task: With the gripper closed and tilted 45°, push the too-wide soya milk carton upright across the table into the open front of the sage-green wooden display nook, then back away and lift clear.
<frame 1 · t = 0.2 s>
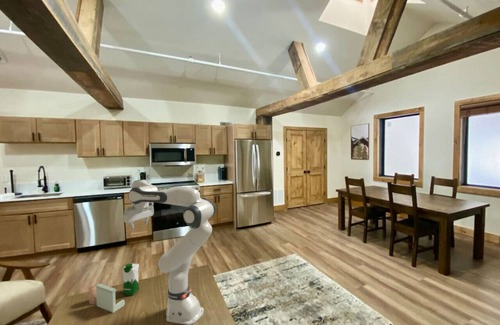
hand: (139, 226, 146), 48 cm above the table, tool pointing down, fingers open, 8 cm apart
terracotta jar: (95, 301, 144), on the table
display nook: (116, 301, 144), on the table
soya milk: (131, 292, 154), on the table
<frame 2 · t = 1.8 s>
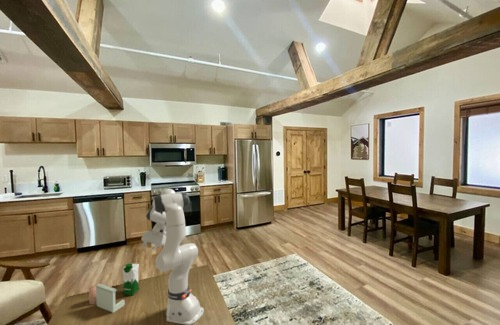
hand: (148, 248, 167), 24 cm above the table, tool tilted 45°, fingers open, 8 cm apart
nothing on the table moved.
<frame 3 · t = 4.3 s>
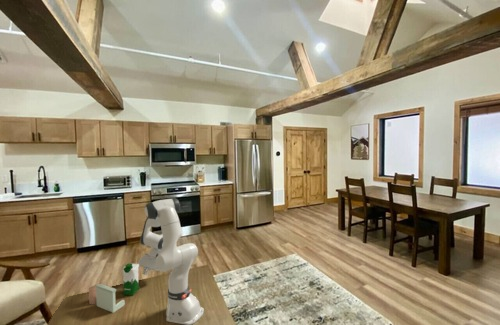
hand: (144, 274, 164), 7 cm above the table, tool tilted 45°, fingers closed
nothing on the table moved.
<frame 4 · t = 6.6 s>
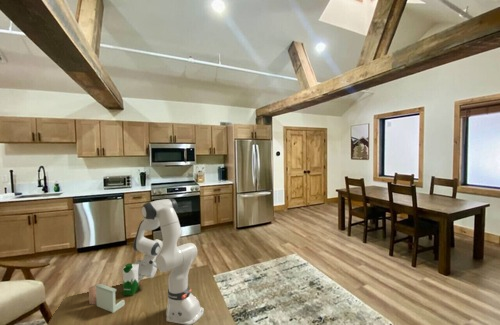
hand: (136, 281, 158), 5 cm above the table, tool tilted 45°, fingers closed
soya milk: (131, 292, 154), on the table, touching gripper
everything else where it was.
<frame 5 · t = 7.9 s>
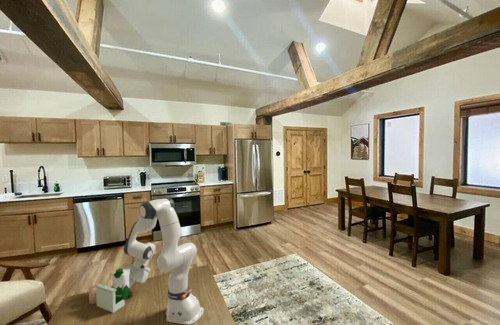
hand: (127, 287, 151), 5 cm above the table, tool tilted 45°, fingers closed
soya milk: (121, 298, 147), on the table, touching gripper
everything else where it was.
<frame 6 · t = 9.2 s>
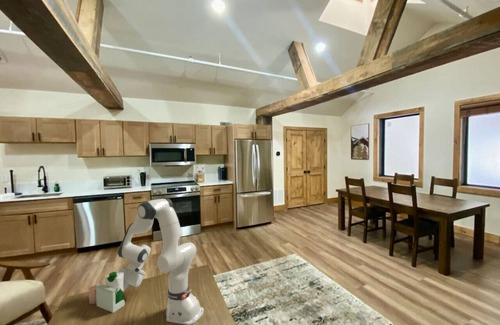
hand: (121, 290, 147), 5 cm above the table, tool tilted 45°, fingers closed
soya milk: (115, 302, 143), on the table, touching display nook, gripper
everything else where it was.
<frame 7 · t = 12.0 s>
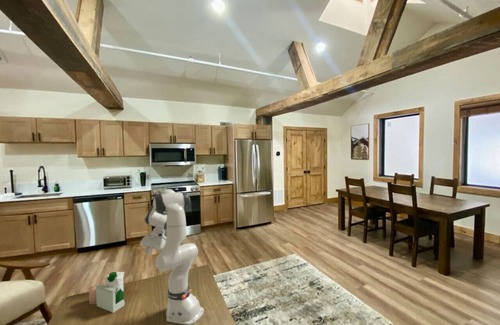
hand: (146, 253, 163), 22 cm above the table, tool tilted 45°, fingers closed
soya milk: (115, 302, 143), on the table, touching display nook
everything else where it was.
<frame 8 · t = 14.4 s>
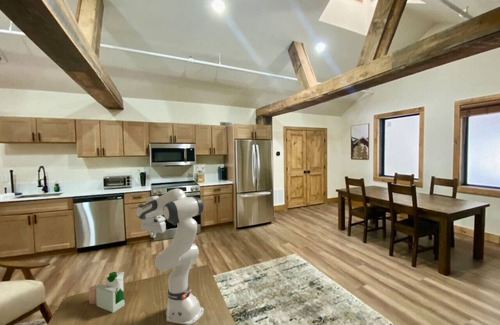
hand: (153, 237, 160), 35 cm above the table, tool pointing down, fingers closed
nothing on the table moved.
at the end: soya milk 0.3 cm off-centre on the display nook, point 0.0 cm above the display nook's base; soya milk tilted 0° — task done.
